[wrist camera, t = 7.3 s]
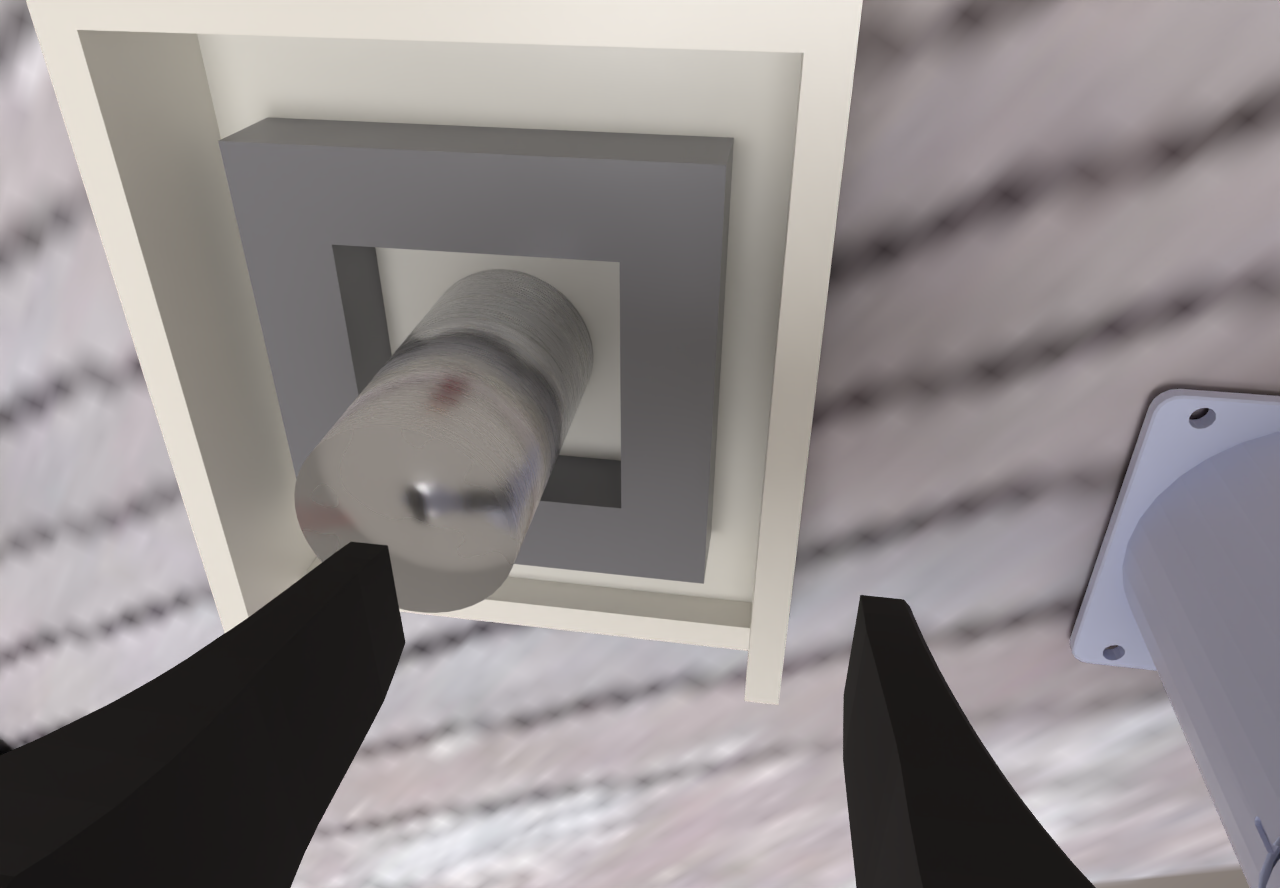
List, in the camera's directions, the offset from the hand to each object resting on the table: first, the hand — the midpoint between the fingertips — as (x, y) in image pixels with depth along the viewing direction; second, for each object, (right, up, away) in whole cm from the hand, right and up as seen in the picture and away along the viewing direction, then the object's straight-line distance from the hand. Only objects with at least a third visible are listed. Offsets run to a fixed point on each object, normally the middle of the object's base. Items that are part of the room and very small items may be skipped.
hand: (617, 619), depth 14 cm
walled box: (-3, +5, +8) cm, 10 cm away
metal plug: (-3, +5, +8) cm, 10 cm away
